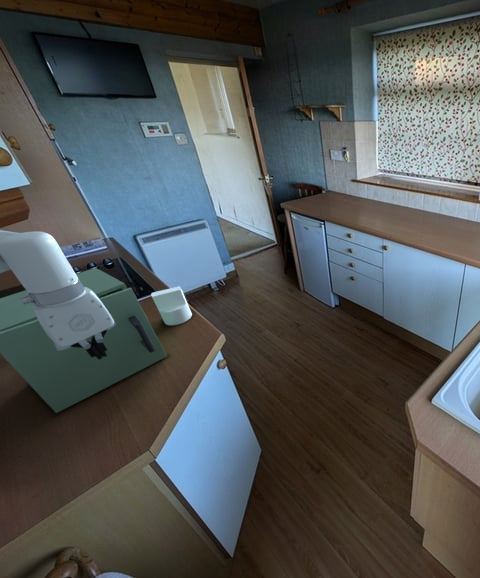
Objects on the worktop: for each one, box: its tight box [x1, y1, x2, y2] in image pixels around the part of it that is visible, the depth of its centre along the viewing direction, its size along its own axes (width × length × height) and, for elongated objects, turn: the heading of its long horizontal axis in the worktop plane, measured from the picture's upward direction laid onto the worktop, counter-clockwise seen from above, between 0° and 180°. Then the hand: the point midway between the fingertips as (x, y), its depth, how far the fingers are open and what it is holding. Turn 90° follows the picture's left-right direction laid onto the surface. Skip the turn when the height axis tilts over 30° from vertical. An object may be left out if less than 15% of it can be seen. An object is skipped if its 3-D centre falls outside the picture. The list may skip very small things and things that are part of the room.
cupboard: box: [0, 267, 128, 332], centre depth 83 cm, size 18×26×26 cm
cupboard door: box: [0, 287, 168, 414], centre depth 77 cm, size 7×26×26 cm, turn 143°
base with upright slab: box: [150, 285, 193, 326], centre depth 108 cm, size 9×9×12 cm
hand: (100, 355), depth 70 cm, fingers closed
